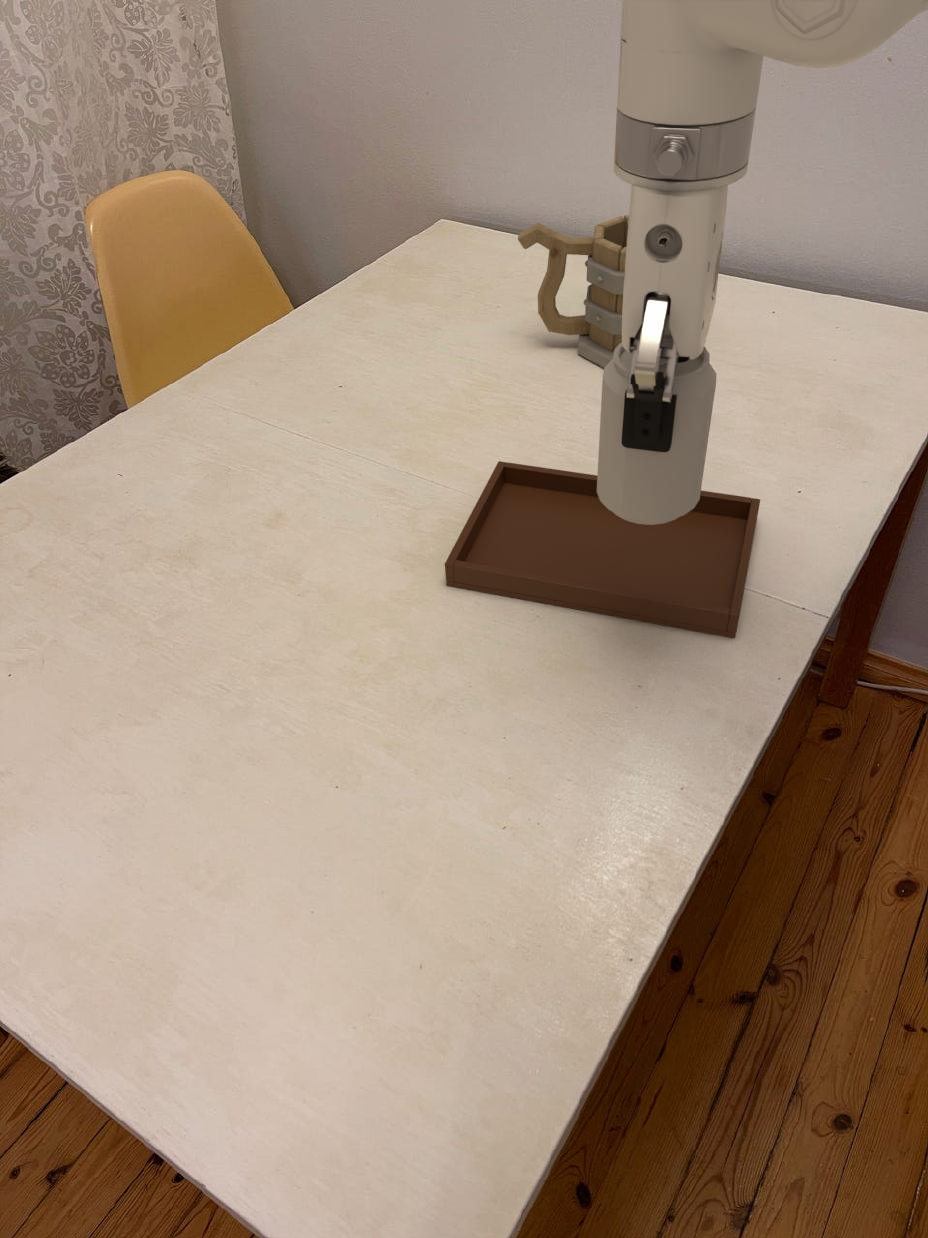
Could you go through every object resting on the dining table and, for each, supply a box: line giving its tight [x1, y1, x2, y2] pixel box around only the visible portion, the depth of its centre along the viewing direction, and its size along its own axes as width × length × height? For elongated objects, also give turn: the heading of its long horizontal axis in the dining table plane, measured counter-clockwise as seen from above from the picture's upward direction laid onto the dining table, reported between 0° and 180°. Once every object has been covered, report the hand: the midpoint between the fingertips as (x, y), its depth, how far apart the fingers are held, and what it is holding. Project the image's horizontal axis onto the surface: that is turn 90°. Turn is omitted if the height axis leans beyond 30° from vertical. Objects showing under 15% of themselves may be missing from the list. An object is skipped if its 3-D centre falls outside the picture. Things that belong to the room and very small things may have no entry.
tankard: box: [517, 214, 629, 369], centre depth 113 cm, size 20×13×15 cm, turn 82°
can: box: [597, 338, 717, 525], centre depth 67 cm, size 8×8×12 cm
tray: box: [444, 460, 761, 639], centre depth 89 cm, size 26×17×3 cm, turn 72°
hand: (656, 413), depth 66 cm, fingers closed on can, 7 cm apart
